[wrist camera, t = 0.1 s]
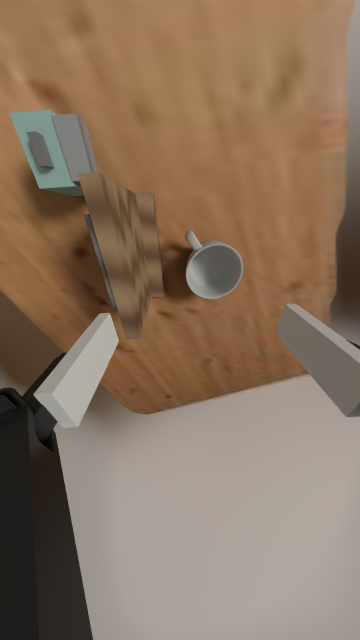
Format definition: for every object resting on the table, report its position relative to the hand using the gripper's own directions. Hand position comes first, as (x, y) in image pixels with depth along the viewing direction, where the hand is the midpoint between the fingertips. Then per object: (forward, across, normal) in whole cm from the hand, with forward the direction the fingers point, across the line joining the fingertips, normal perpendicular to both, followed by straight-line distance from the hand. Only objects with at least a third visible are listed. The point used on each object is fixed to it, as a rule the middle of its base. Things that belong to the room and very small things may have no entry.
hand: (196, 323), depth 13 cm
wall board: (+28, -9, +1) cm, 29 cm away
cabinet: (+28, -17, +15) cm, 36 cm away
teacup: (+28, +5, -1) cm, 29 cm away
